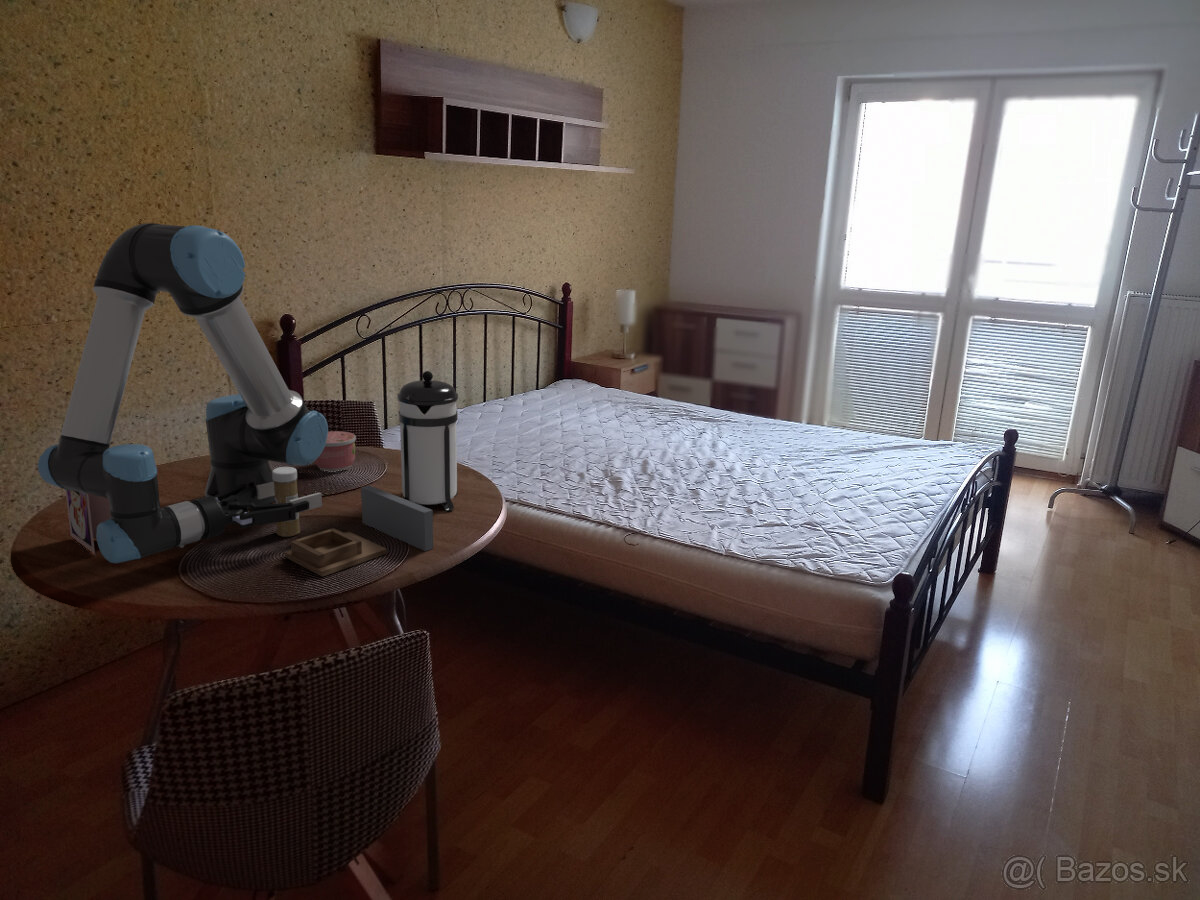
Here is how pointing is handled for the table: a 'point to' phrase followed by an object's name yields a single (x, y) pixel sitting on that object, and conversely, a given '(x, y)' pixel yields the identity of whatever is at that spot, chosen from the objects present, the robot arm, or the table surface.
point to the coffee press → (428, 441)
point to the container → (337, 451)
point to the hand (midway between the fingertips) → (303, 492)
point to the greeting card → (86, 516)
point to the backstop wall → (397, 517)
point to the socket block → (332, 551)
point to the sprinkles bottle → (286, 497)
